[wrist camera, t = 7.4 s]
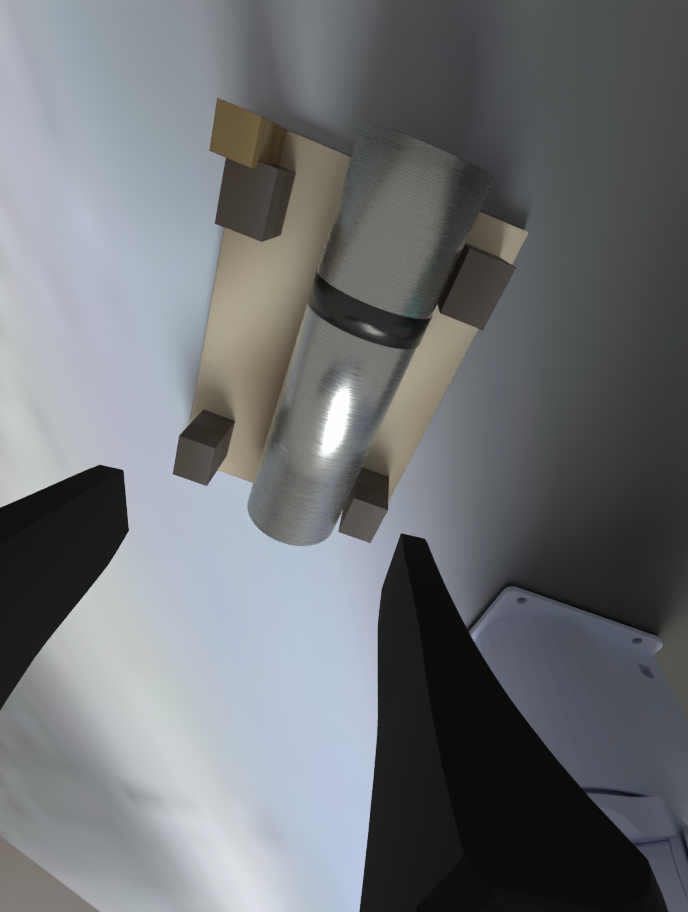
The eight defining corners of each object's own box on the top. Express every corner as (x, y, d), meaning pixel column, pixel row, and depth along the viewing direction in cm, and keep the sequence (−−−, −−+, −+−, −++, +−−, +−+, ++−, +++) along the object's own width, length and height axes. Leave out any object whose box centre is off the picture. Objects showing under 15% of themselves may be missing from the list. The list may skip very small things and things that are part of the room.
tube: (438, 164, 15) (336, 113, 12) (523, 191, 12) (413, 133, 10) (313, 480, 22) (235, 483, 20) (350, 540, 19) (264, 552, 17)
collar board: (524, 231, 15) (555, 240, 12) (376, 518, 23) (372, 569, 19) (251, 115, 14) (210, 94, 11) (188, 451, 22) (153, 494, 19)
